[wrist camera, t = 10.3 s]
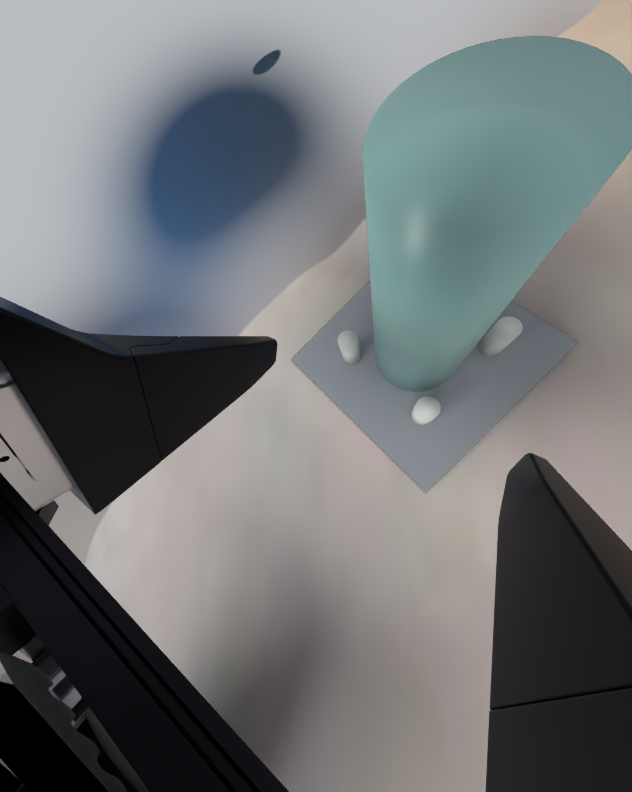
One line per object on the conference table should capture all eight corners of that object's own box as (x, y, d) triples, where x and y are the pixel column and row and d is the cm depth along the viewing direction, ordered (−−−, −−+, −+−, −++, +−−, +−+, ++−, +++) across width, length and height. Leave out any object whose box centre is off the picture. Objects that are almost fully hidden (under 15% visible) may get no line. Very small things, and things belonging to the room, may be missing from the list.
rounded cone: (445, 402, 16) (613, 243, 4) (364, 378, 17) (331, 214, 6) (468, 327, 16) (665, 22, 5) (389, 310, 18) (401, 47, 7)
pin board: (423, 491, 16) (434, 499, 12) (294, 364, 20) (277, 345, 16) (566, 349, 16) (616, 318, 12) (408, 251, 20) (414, 208, 16)
